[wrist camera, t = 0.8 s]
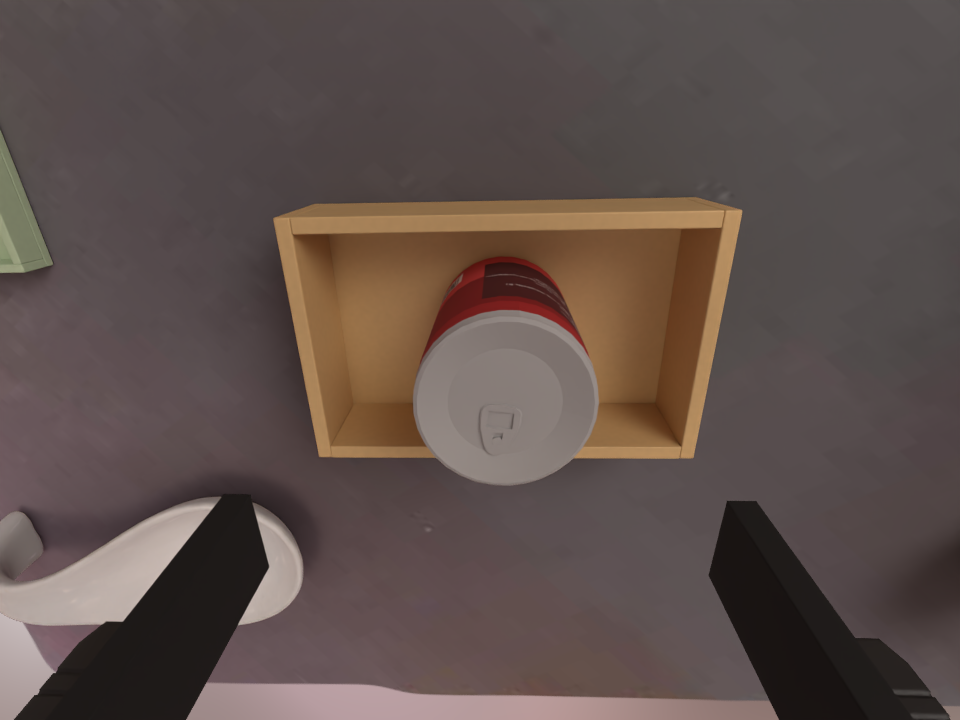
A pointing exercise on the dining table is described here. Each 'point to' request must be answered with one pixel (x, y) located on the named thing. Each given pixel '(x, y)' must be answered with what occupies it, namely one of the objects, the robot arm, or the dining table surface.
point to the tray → (18, 223)
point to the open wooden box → (542, 241)
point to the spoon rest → (131, 569)
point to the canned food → (505, 376)
